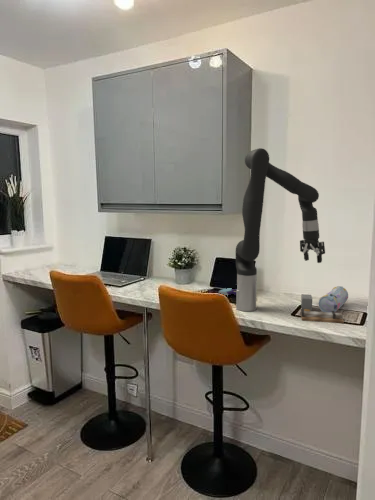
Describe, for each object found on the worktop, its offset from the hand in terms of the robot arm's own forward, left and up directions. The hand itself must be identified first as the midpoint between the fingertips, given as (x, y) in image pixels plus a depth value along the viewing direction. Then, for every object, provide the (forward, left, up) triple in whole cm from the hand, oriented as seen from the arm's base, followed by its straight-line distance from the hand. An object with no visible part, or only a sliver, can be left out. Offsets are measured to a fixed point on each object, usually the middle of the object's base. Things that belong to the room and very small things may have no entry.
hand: (313, 261), depth 180 cm
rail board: (+2, -23, -22) cm, 31 cm away
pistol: (-39, +9, -22) cm, 46 cm away
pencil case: (+10, -6, -22) cm, 25 cm away
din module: (-3, -10, -22) cm, 24 cm away
